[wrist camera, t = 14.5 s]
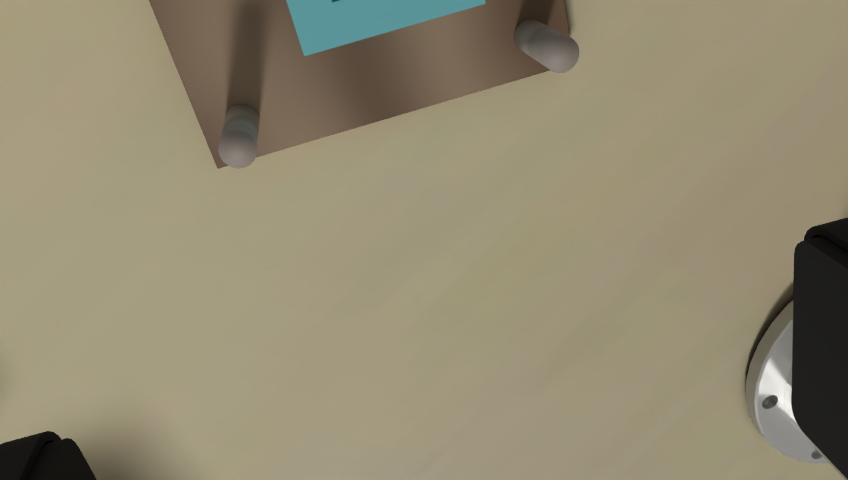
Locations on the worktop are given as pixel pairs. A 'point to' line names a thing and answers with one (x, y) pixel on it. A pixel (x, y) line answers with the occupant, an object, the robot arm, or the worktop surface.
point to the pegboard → (344, 68)
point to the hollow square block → (362, 18)
